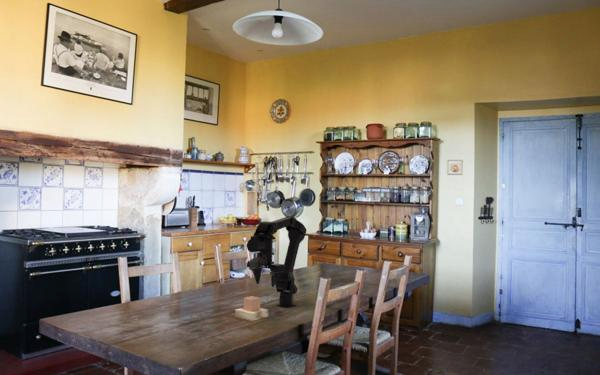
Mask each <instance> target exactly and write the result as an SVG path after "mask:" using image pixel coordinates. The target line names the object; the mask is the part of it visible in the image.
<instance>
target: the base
mask: <svg viewBox="0 0 600 375" xmlns="http://www.w3.org/2000/svg"><path fill="white" fill-rule="evenodd" d="M243 309H244V307H240V308H236V309H234V317H235V318H238V319H243V320H247V321H250V322H253V321H257V320H261V319H265V318H268V317H269V309H267V308H263V307H260V310H257V311H253V312H251V311H247V310H243Z"/></svg>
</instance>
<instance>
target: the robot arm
mask: <svg viewBox="0 0 600 375" xmlns="http://www.w3.org/2000/svg"><path fill="white" fill-rule="evenodd" d="M284 228H285V230H286V231H287V237H288V240H289V241H288V242H289V243H288V247H287V251H286V254H285V259H284V262H283V263H275V261H274V260H273V256H274V255H275V252H273V246H274V245H273V244H274V243H273V241H274V240H276V237H275V234H277V232H278V231H279V230H282V229H284ZM306 234H307V228H306V226H305V225H304V224H303V222H301V221H299V220H298V219H297V218H296V217H295V216H284V217H282V218H279V219H275V220H273V221H260V222H259V223H258V225H257V227H256V229H255V231H254V233H253V235H252V236H250V239H248V241H247V242H246V249H247V250H248V252H250V253H256V256H255V257H253V258H252V259H249V260H248V261H247V262H246V268H248V270H250V271H251V272H252V274H253V277H254V279H255V283H256V285H258V284H259V285H260V281H261V274H262V269H263V268H264V269H267V270H268V269H269V270H270V271H269V274H270V275H271V276H270V278H271V284H270V285H271V288H275V289H276V293H279V300H278V301H279V303H277V304H276V306H278V307H284V308H290V307H294V306H297V304H296V303H294V295H296V294H297V292H298V287H297V285H296V284H295V279H296V278H295V276H294V268H295V265H296V260H297V256H298V252H299V248H300V244H301V243H302V242H303V241H304V240H305V236H306Z"/></svg>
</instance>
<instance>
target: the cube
mask: <svg viewBox="0 0 600 375" xmlns="http://www.w3.org/2000/svg"><path fill="white" fill-rule="evenodd" d="M243 308H244V309H243V310H247V311H251V312H253V311H257V310H260V308H261V297H258V296H253V295H250V296H246V297H243Z"/></svg>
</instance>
